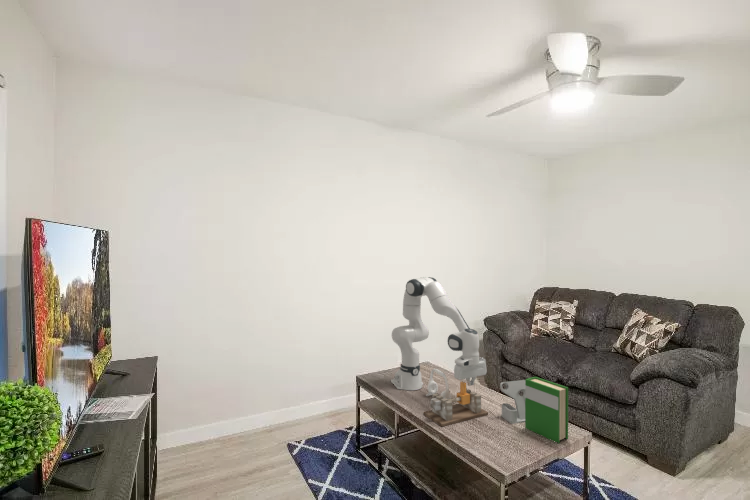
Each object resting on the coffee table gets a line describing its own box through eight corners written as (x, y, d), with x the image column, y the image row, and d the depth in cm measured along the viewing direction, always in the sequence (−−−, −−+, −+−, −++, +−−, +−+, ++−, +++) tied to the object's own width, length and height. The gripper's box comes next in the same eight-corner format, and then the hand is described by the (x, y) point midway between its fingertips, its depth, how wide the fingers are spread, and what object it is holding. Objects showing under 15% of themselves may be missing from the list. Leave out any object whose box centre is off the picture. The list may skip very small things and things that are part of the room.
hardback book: (568, 439, 180) (568, 387, 180) (558, 443, 176) (558, 390, 176) (535, 424, 195) (535, 376, 195) (525, 427, 191) (525, 379, 191)
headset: (453, 407, 216) (453, 375, 216) (441, 408, 214) (441, 376, 214) (435, 394, 235) (435, 364, 235) (425, 395, 233) (425, 365, 232)
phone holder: (510, 424, 196) (510, 388, 195) (499, 415, 205) (499, 381, 205) (540, 420, 200) (540, 385, 200) (527, 411, 210) (527, 378, 210)
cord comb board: (423, 414, 206) (423, 394, 206) (467, 404, 220) (467, 385, 220) (442, 427, 192) (442, 405, 192) (488, 414, 206) (488, 395, 206)
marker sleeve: (456, 401, 209) (456, 381, 209) (463, 400, 212) (463, 380, 212) (462, 405, 205) (462, 384, 205) (469, 403, 207) (469, 383, 207)
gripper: (481, 355, 218) (481, 380, 218) (452, 360, 209) (452, 386, 209) (489, 358, 213) (489, 383, 213) (460, 363, 203) (459, 390, 203)
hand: (470, 385), depth 211 cm, fingers closed
